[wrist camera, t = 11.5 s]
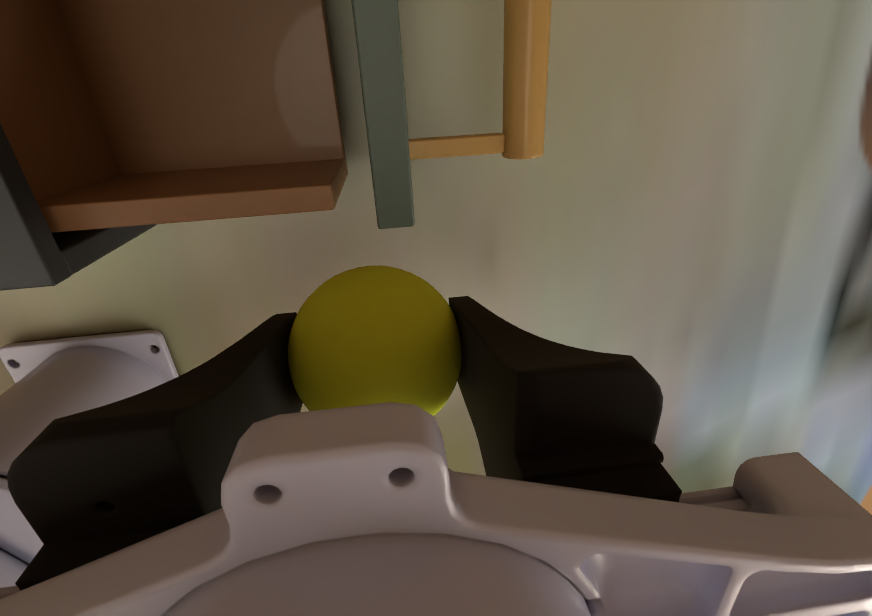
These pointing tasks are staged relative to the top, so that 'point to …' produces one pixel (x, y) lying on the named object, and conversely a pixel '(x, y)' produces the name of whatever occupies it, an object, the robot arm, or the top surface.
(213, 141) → the drawer
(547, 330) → the top surface
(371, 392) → the ball
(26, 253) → the cabinet
